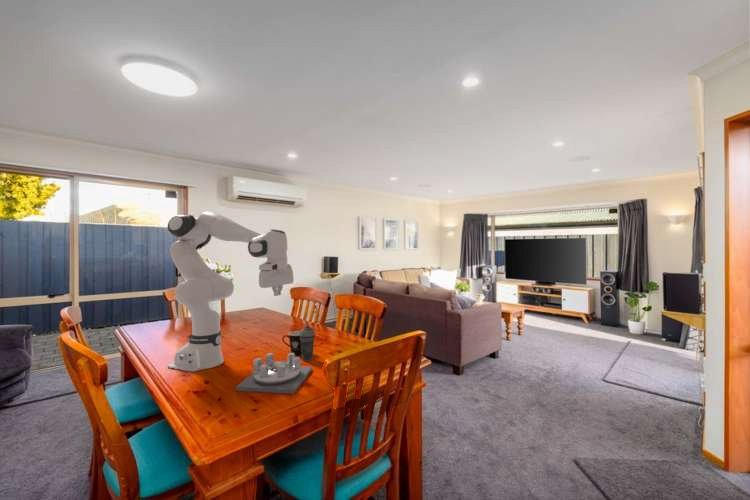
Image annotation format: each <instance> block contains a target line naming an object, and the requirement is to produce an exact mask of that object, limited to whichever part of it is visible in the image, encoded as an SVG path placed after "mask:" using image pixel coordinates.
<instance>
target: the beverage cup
mask: <svg viewBox="0 0 750 500" xmlns="http://www.w3.org/2000/svg"><path fill="white" fill-rule="evenodd" d="M303 318H304V326H305V327H302V328H301V329H300V331H301V332H300V335H299V337H300V341H301V350H302V355H301V357H302V359H301V361H302V362H311V361H312V360H313V356H314V343H315V337H316V334H315V329H313V328H312V327H310V326H307V321H306V320H307V319H306V317H303Z"/></svg>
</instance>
